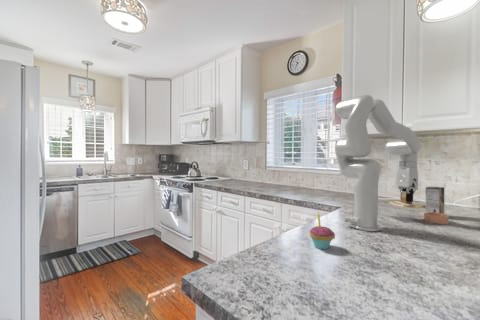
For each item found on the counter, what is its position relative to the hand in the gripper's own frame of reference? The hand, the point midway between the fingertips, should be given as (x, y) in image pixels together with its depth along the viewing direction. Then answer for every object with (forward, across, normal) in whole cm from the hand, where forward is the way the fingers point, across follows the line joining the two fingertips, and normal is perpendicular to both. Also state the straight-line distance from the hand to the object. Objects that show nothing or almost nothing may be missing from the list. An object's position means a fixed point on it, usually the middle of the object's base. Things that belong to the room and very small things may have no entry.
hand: (406, 200), depth 116 cm
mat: (+10, -1, +2) cm, 10 cm away
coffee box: (+9, -11, +23) cm, 27 cm away
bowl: (+10, +2, +13) cm, 17 cm away
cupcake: (+14, +37, -56) cm, 68 cm away
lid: (+3, 0, 0) cm, 3 cm away
